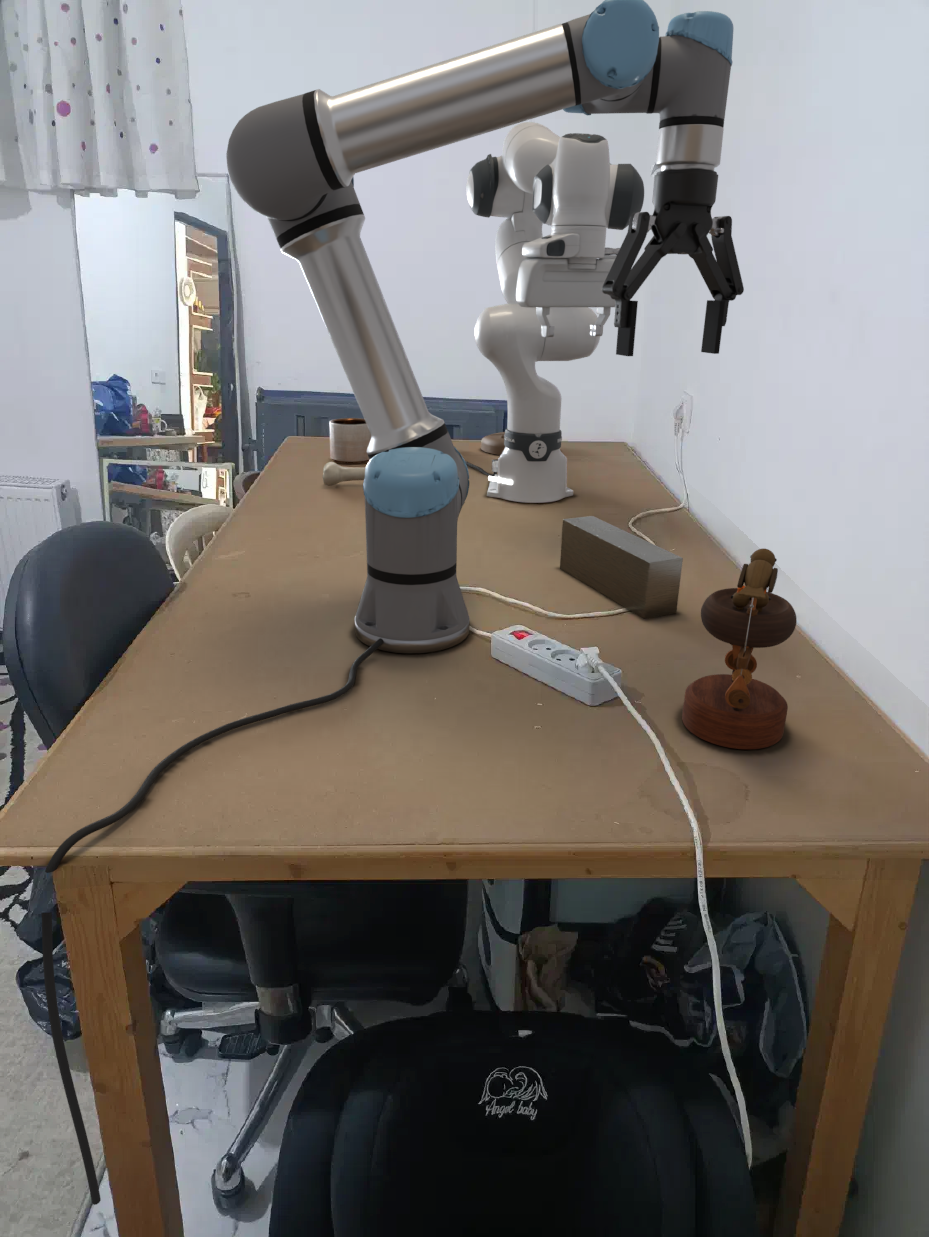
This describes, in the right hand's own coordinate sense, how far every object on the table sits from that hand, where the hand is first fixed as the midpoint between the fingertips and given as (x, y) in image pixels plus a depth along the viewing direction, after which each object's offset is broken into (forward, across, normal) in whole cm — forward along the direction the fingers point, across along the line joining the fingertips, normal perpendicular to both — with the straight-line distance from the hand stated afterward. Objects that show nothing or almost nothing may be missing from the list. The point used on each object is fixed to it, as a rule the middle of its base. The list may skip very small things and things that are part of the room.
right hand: (572, 336), depth 142 cm
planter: (+35, +16, -77) cm, 86 cm away
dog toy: (+35, +20, -50) cm, 65 cm away
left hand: (0, +6, +35) cm, 36 cm away
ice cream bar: (+35, -28, -69) cm, 82 cm away
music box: (+35, +18, +68) cm, 78 cm away
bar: (+35, +6, +28) cm, 45 cm away
